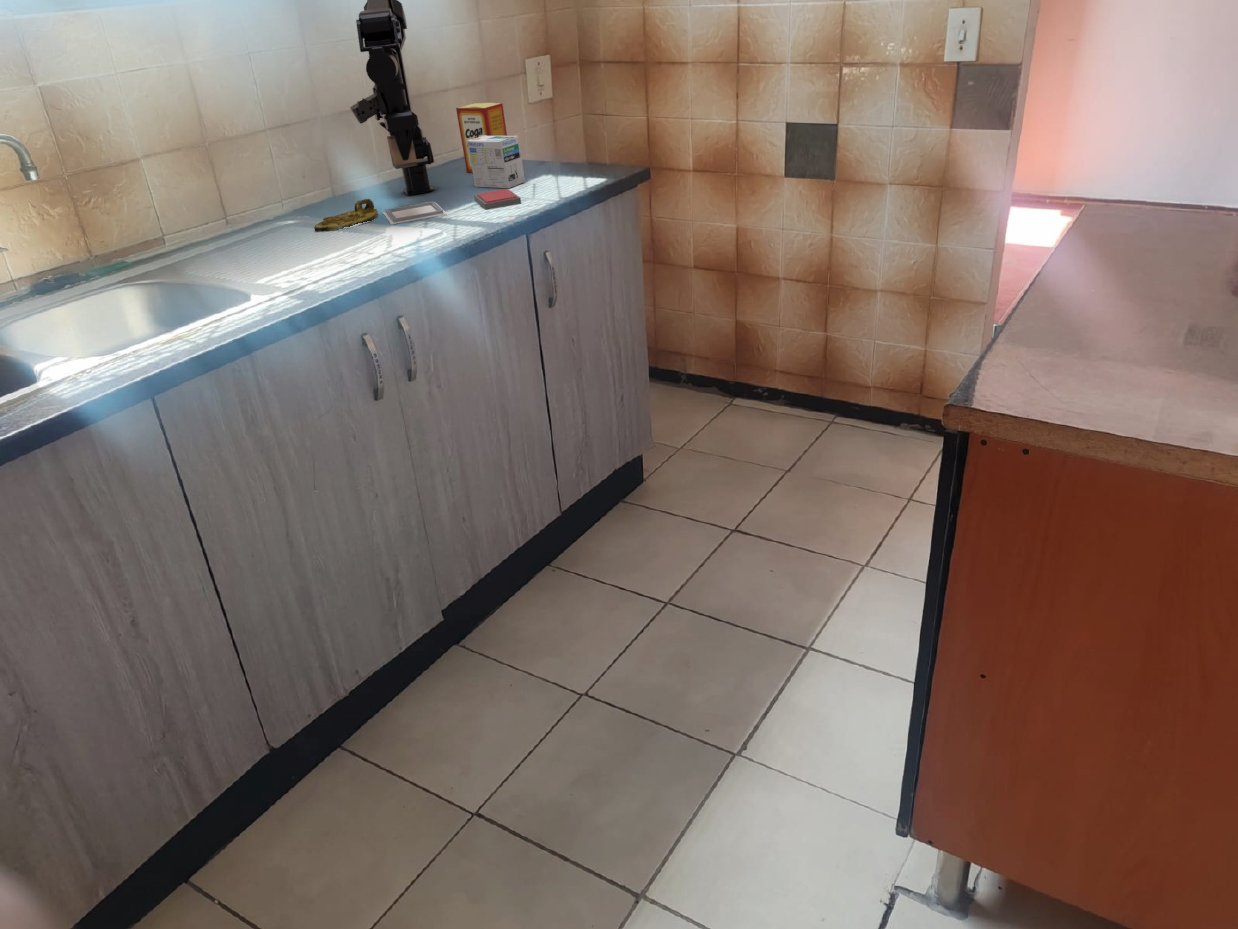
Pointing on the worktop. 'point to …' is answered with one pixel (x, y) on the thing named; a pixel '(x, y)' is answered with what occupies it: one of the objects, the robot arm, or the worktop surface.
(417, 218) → the frame
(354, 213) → the seal
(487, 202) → the ink pad
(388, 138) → the brown cardboard box
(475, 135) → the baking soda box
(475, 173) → the light bulb box
